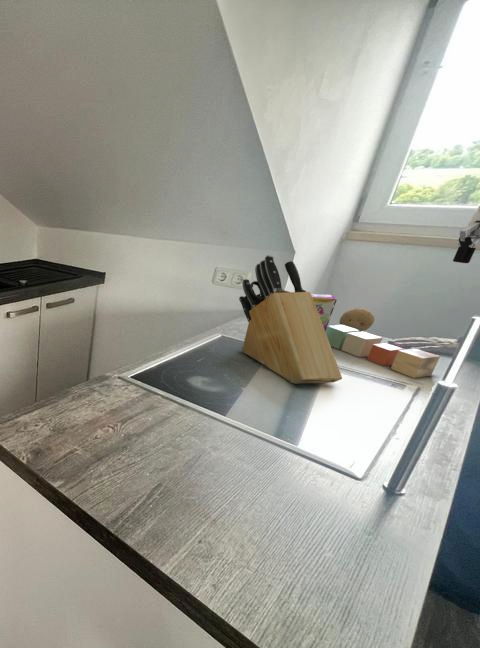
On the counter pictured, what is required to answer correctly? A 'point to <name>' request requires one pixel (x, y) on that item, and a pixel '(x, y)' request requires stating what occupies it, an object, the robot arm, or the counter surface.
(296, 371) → the knife block
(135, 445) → the counter surface
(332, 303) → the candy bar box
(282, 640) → the counter surface
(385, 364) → the terracotta block
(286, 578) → the counter surface
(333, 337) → the sage block
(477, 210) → the robot arm
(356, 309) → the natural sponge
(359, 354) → the cream block
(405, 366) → the beech block
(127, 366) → the counter surface
